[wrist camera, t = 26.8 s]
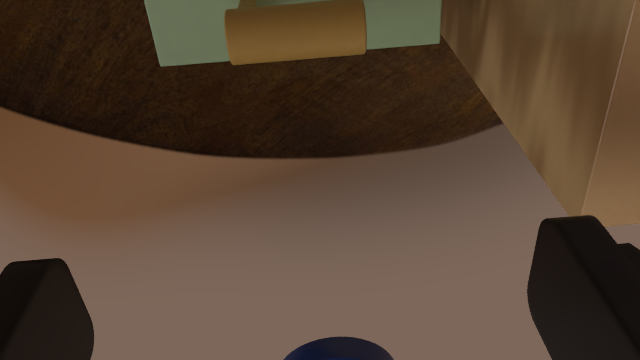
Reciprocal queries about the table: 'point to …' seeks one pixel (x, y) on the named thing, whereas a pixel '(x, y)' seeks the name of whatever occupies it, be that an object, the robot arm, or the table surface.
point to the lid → (286, 28)
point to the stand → (562, 91)
